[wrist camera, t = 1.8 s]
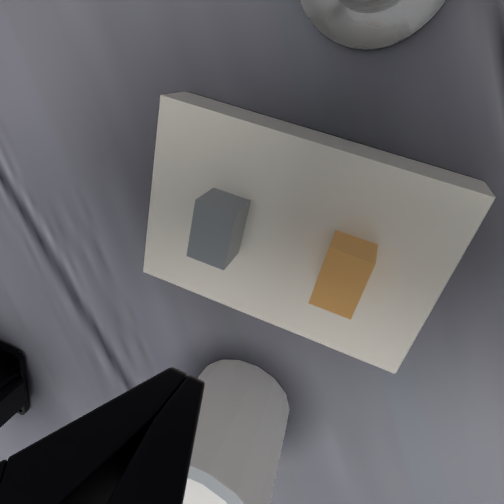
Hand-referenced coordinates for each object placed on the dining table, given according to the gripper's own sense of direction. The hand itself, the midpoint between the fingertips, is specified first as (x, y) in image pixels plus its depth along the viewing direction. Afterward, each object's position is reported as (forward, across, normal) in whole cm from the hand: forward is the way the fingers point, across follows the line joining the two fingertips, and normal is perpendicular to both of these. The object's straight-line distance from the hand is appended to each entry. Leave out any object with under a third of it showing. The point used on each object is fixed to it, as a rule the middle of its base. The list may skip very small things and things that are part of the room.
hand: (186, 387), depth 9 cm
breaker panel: (+10, 0, 0) cm, 10 cm away
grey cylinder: (+10, 0, +11) cm, 15 cm away
